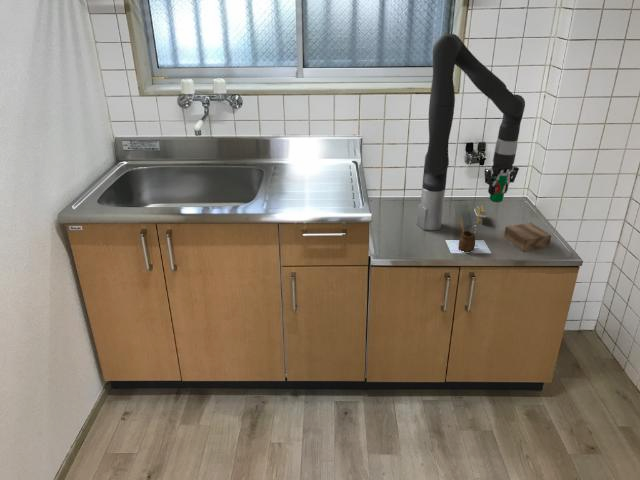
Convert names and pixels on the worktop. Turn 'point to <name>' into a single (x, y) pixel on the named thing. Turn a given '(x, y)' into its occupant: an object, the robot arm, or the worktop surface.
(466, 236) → the utensil holder
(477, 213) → the grey flat gold-topped slab
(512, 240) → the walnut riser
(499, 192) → the soda can
